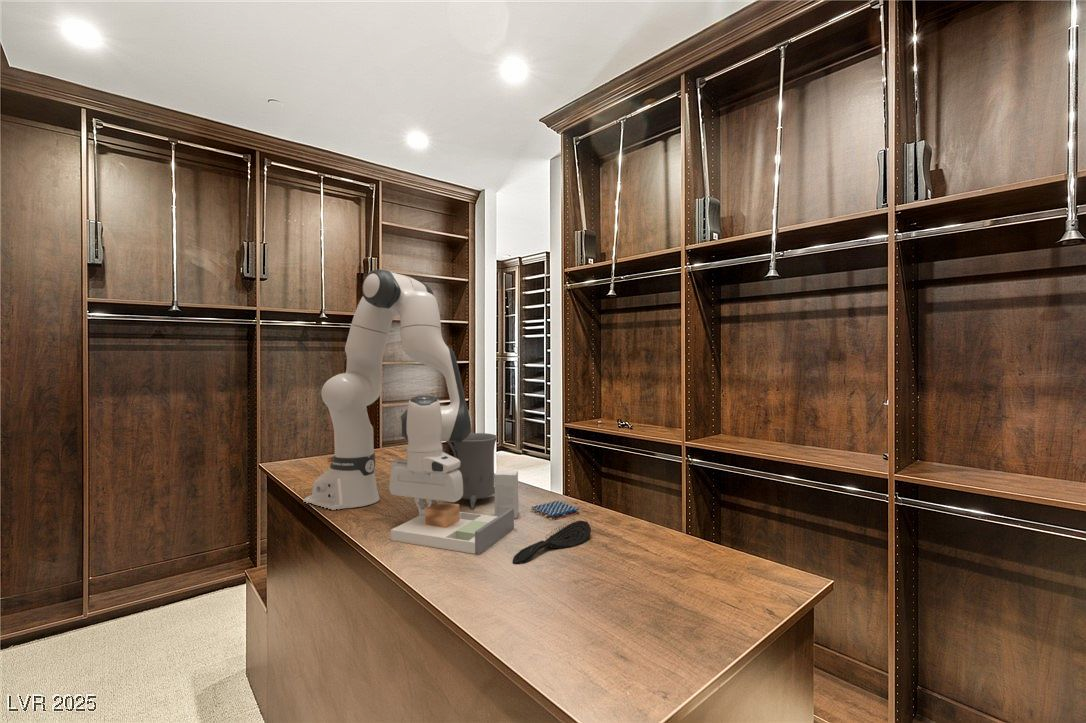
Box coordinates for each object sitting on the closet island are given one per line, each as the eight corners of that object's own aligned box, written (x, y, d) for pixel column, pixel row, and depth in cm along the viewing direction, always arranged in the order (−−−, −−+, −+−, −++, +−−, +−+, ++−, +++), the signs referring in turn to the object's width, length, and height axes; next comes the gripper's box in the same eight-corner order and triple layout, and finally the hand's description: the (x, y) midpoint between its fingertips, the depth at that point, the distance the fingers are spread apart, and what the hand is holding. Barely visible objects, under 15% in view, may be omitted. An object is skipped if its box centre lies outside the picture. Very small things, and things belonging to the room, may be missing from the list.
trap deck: (390, 540, 121) (390, 519, 121) (434, 517, 138) (433, 499, 138) (479, 554, 112) (478, 532, 112) (514, 528, 129) (513, 508, 129)
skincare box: (518, 514, 141) (518, 471, 140) (516, 519, 136) (516, 474, 136) (497, 513, 141) (496, 470, 141) (494, 518, 137) (493, 474, 137)
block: (425, 524, 125) (425, 508, 125) (439, 517, 130) (439, 501, 130) (446, 528, 122) (445, 511, 122) (459, 520, 128) (459, 504, 128)
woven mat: (557, 506, 149) (557, 499, 149) (581, 515, 141) (581, 508, 141) (528, 513, 143) (528, 505, 143) (551, 523, 135) (551, 515, 135)
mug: (489, 491, 164) (488, 414, 164) (511, 502, 152) (510, 418, 151) (433, 500, 154) (432, 418, 154) (452, 513, 142) (451, 423, 141)
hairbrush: (500, 547, 110) (571, 514, 129) (500, 564, 110) (572, 528, 129) (527, 557, 105) (598, 521, 123) (528, 575, 105) (599, 536, 123)
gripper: (383, 460, 129) (384, 514, 129) (452, 466, 121) (453, 524, 121) (399, 455, 135) (400, 507, 135) (466, 461, 127) (466, 516, 127)
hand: (425, 515), depth 128 cm, fingers closed
